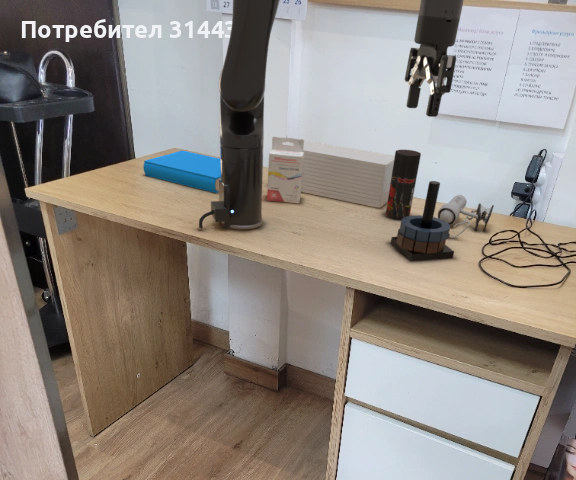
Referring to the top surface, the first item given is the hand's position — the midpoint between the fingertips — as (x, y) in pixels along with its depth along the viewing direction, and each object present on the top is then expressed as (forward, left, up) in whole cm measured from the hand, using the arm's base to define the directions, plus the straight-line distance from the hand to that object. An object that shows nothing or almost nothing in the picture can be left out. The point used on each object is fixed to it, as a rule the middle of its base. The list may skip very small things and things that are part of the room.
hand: (421, 112), depth 110 cm
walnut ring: (+1, -7, -25) cm, 26 cm away
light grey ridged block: (-3, +36, -26) cm, 45 cm away
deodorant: (+7, +15, -26) cm, 31 cm away
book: (-37, +53, -26) cm, 70 cm away
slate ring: (+2, -7, -23) cm, 24 cm away
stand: (+2, -7, -26) cm, 27 cm away
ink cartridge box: (-18, +31, -26) cm, 45 cm away
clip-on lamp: (+18, +4, -26) cm, 32 cm away
